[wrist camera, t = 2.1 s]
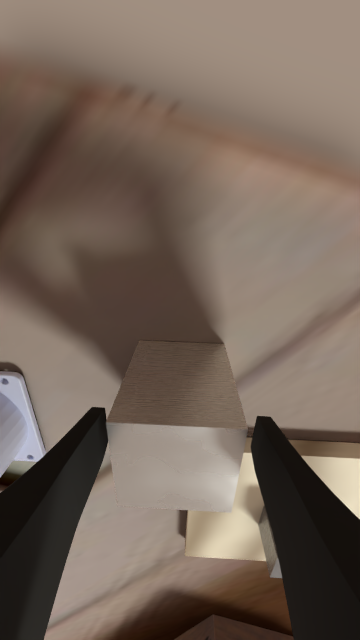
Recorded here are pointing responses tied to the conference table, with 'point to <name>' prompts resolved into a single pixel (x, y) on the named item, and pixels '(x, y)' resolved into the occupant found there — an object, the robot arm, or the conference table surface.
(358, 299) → the conference table surface
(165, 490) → the brushed grey cube
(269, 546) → the post
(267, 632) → the tissue box cover
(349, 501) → the board
